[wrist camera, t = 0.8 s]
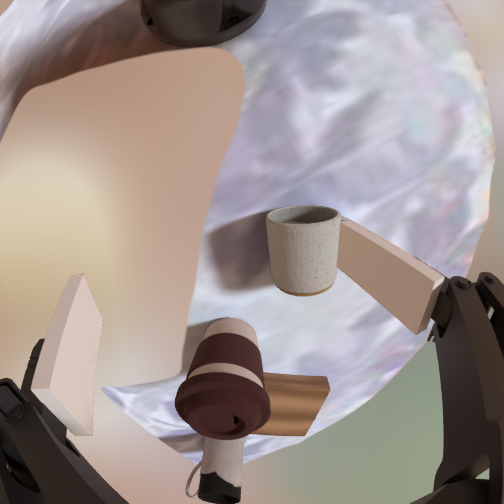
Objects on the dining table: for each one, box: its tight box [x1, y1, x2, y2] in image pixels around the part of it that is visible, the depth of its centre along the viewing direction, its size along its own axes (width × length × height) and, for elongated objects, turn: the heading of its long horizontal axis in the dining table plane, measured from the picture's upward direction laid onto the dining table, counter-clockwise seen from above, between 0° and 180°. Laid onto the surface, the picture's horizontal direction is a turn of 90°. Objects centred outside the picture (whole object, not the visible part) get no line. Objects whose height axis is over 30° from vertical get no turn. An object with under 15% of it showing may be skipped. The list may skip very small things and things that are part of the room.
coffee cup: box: [175, 318, 271, 440], centre depth 30 cm, size 10×10×15 cm
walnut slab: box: [250, 372, 330, 436], centre depth 40 cm, size 14×14×3 cm
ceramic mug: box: [266, 205, 350, 296], centre depth 29 cm, size 11×8×8 cm
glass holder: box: [186, 436, 246, 504], centre depth 40 cm, size 9×14×15 cm, turn 131°
